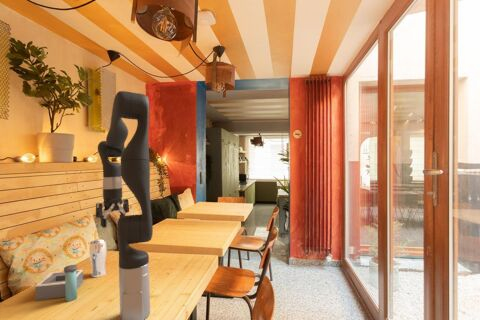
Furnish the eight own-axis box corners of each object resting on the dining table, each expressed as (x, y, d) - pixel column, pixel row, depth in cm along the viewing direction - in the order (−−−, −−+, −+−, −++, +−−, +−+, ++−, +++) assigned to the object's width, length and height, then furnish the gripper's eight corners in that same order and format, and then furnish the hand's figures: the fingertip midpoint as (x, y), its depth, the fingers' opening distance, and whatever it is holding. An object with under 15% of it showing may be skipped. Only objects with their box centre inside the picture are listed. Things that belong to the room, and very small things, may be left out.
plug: (75, 301, 99) (74, 268, 99) (62, 302, 98) (61, 269, 98) (79, 295, 103) (78, 264, 103) (67, 296, 102) (66, 265, 102)
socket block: (70, 296, 102) (70, 282, 102) (35, 300, 100) (35, 285, 100) (83, 282, 114) (82, 269, 114) (51, 285, 112) (51, 272, 112)
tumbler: (103, 270, 127) (102, 238, 127) (110, 273, 122) (109, 240, 122) (87, 275, 121) (86, 242, 121) (93, 279, 117) (93, 245, 117)
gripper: (102, 189, 107) (103, 230, 107) (132, 186, 120) (133, 222, 119) (91, 188, 111) (92, 228, 111) (121, 185, 123) (122, 221, 123)
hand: (113, 225), depth 115 cm, fingers open, 8 cm apart
